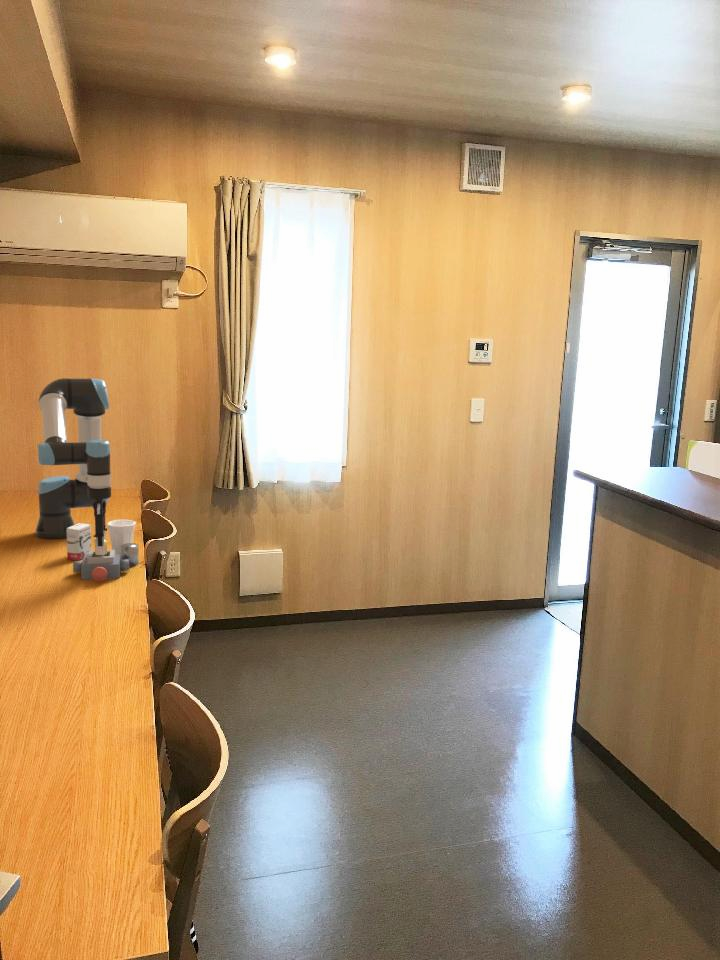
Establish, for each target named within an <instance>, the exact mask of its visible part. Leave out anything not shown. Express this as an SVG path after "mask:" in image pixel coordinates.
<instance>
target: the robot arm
mask: <svg viewBox="0 0 720 960" xmlns="http://www.w3.org/2000/svg"><path fill="white" fill-rule="evenodd" d="M109 401H110V400H109V395H108V390H107V385H106V382H105V381H104V379H101V378H100V379H99V378H91V377H90V378H66V377H65V378H64V377H63V378H58V379H55V380H53V381H51V382H49V383H48V384H47V385H46V386H45V387H44V388H43V389H42V391H41V392H40V394H39V396H38V406H39V409H40V410H41V413H42V414H41V415H42V432H43V433H42V434H43V436H42V437H43V442H42V443H39V444H38V445H37V455H38V463H39V465H41V466H51V467H52V466H60V465H61V466H63V465H64V466H65V465H66V466H67V465H69V466H70V465H78V467H79V468H78V470H79V471H78V472H77V473H76V474H75V479H71V478H70V477H69V476H68V475H57V476H56V475H55V476H51V477H47V478H44V479H41V480H40V481H39V483H38V492H37V494H38V505H39V506H38V507H39V509H38V511H39V517H38V521H37V524H36V527H35V536H36V537H37V538H40V539H45V540H47V539H49V540H51V539H53V540H54V539H63V538H67V530H66V529H67V528H68V527H71V526H73V525H75V524H76V523H75V521H74V519H73V516H72V511H71V510H72V509H81V508H85V509H86V508H92V509H93V516H94V525H95V526H94V528H95V529H94V531H95V532H94V533H95V535H93V538H95V540H96V555H105V539H107V538H106V535H107V534H106V532H108V527H106V526H107V524H106V512H107V508H106V507H107V504H108V502H109V499H110V498H112V486H111V485H112V473H111V446H110V441H108V440H106V439H105V440H104V439H102V417H103V416H105V414H106V410H108V409H109V408H110V404H109V403H110V402H109ZM66 410H73V414H74V415H75V416H76V417H77V427H78V428H77V429H78V430H77V432H78V433H77V434H78V436H77V437H78V440H77V441H78V442H68V437H67V436H68V435H67V425H66V424H67V422H66V415H65V414H66Z"/></svg>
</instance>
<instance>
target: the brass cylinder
mask: <svg viewBox="0 0 720 960" xmlns="http://www.w3.org/2000/svg"><path fill="white" fill-rule="evenodd" d="M107 550H108V539H107V538H106V539H105V555H96V539H94V551H95V557H102V556H107Z"/></svg>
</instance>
